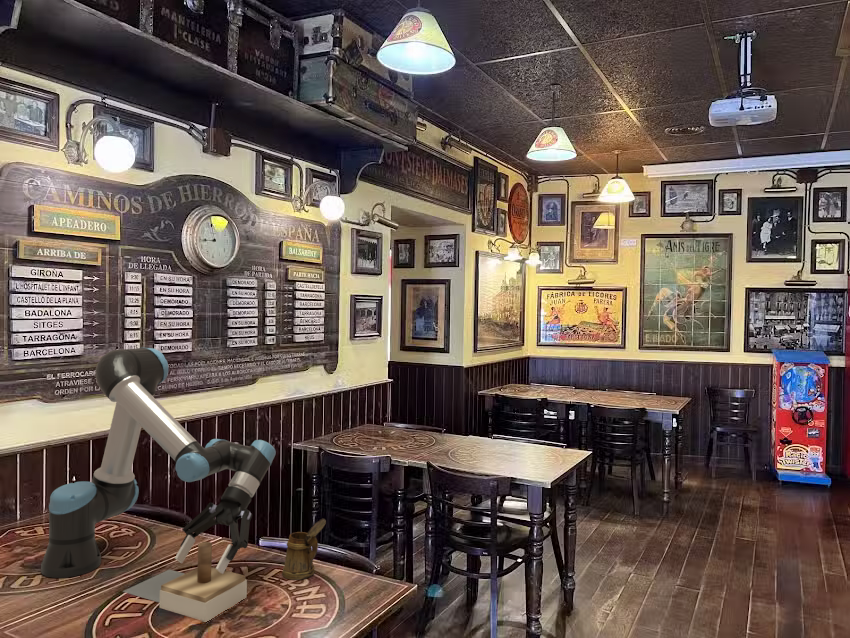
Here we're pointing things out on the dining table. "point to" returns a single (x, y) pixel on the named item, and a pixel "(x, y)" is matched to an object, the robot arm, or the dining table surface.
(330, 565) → the dining table surface
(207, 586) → the oak cover
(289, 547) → the wooden mug
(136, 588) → the rubber mat
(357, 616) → the dining table surface
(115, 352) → the robot arm
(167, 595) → the wooden box
